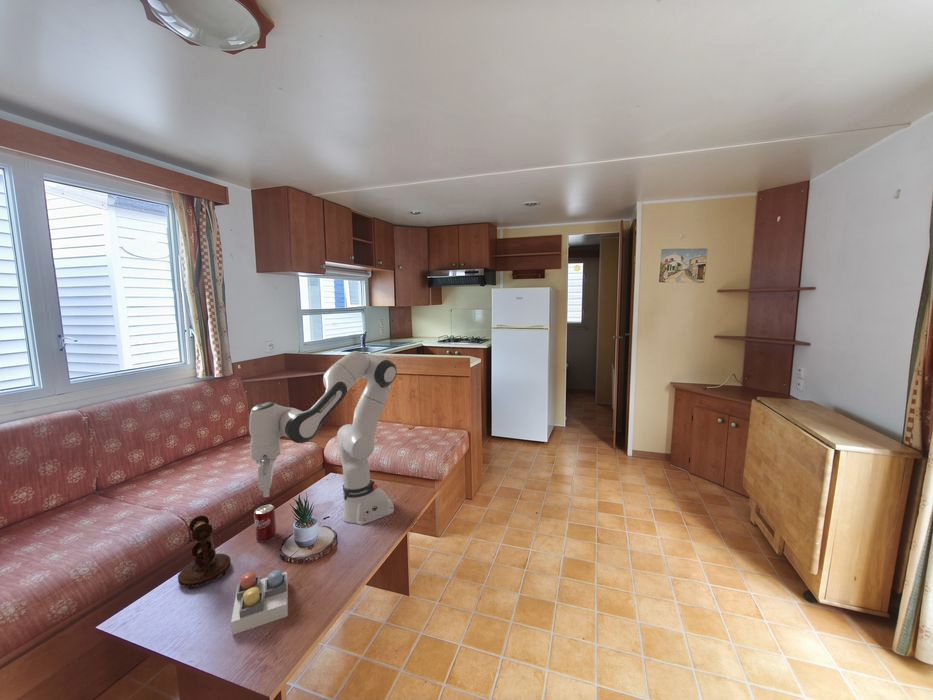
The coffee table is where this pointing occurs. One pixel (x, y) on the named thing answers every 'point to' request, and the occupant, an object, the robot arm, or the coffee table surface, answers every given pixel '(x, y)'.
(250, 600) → the ochre button
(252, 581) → the brick button
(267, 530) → the soda can
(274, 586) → the slate button
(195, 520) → the brown spool stand
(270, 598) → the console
